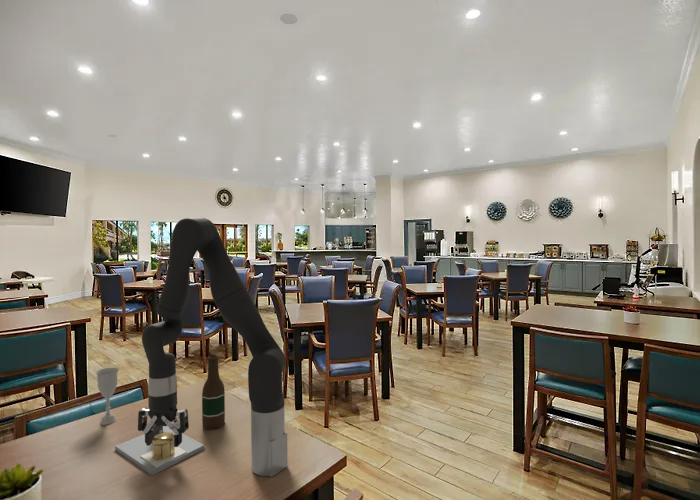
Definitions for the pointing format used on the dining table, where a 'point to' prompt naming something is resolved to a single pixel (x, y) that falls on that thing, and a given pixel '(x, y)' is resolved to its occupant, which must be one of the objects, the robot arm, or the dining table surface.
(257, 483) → the dining table surface
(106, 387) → the chalice
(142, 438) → the board
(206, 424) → the beer bottle
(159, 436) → the cap
